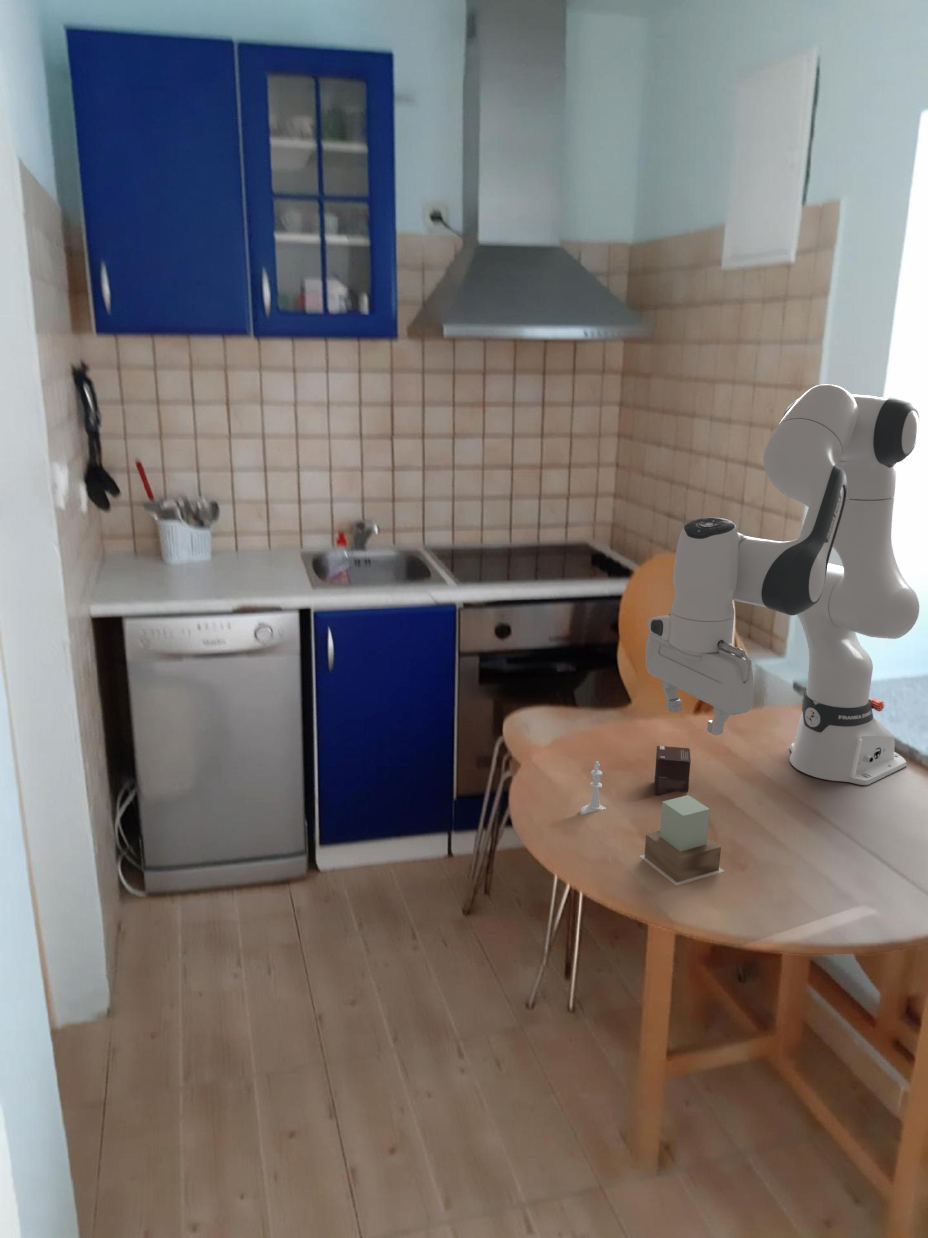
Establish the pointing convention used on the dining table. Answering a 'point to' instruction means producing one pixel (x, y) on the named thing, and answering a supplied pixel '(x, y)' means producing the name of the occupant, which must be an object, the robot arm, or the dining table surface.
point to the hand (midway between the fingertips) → (693, 721)
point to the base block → (682, 858)
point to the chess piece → (594, 792)
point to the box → (672, 770)
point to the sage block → (684, 823)
